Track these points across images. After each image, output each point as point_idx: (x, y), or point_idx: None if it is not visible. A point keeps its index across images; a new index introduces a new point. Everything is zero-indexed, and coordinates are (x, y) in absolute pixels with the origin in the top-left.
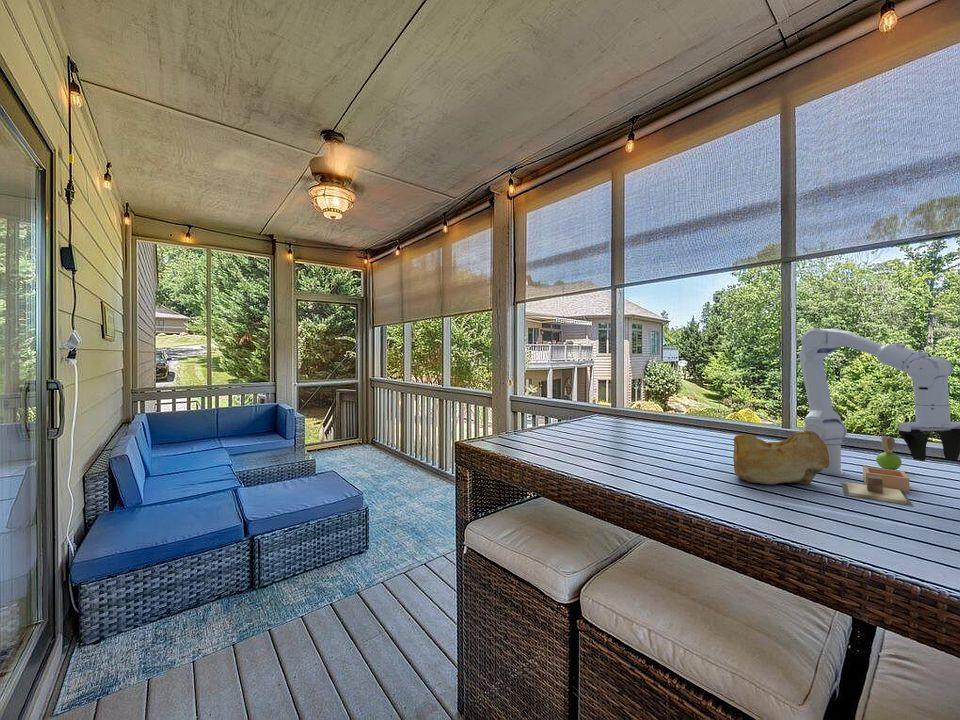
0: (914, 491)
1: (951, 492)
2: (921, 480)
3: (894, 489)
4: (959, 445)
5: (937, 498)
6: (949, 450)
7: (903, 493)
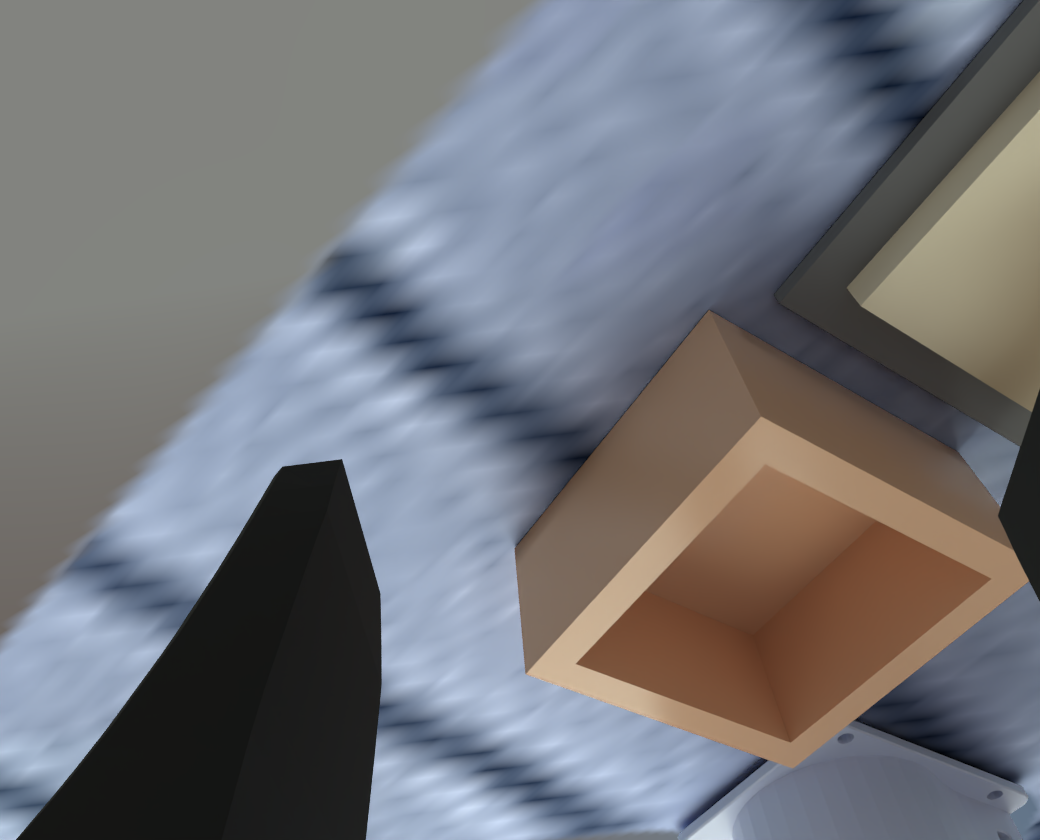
0: (564, 401)
1: (188, 420)
2: None
3: (909, 309)
4: (178, 790)
5: (528, 194)
6: (333, 726)
7: (822, 272)
